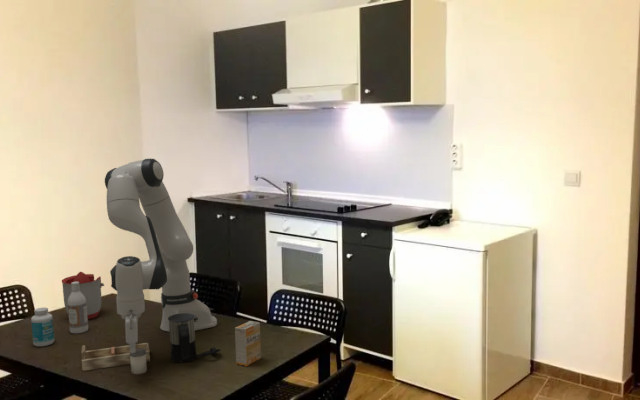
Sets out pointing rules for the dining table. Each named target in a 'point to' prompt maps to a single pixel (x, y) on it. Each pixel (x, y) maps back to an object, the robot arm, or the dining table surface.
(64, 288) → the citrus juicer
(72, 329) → the bath foam
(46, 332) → the pill bottle
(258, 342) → the supplement box
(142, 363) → the cream jar
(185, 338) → the milk frother
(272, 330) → the dining table surface
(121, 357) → the wooden tray
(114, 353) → the block
